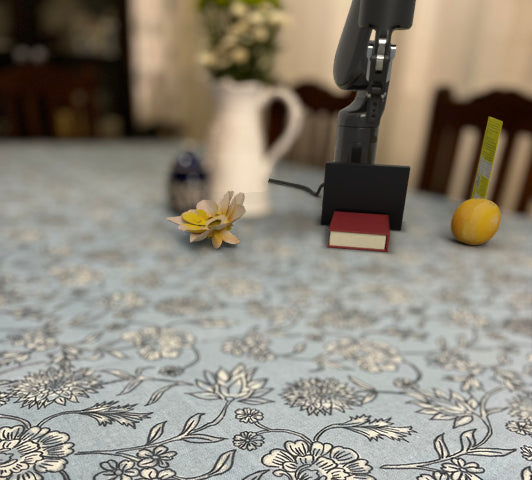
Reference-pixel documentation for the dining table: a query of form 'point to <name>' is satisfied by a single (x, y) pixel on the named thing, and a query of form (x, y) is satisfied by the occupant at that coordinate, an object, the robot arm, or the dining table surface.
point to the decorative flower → (212, 219)
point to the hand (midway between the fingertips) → (372, 125)
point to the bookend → (365, 190)
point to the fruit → (475, 221)
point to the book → (359, 231)
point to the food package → (487, 158)
